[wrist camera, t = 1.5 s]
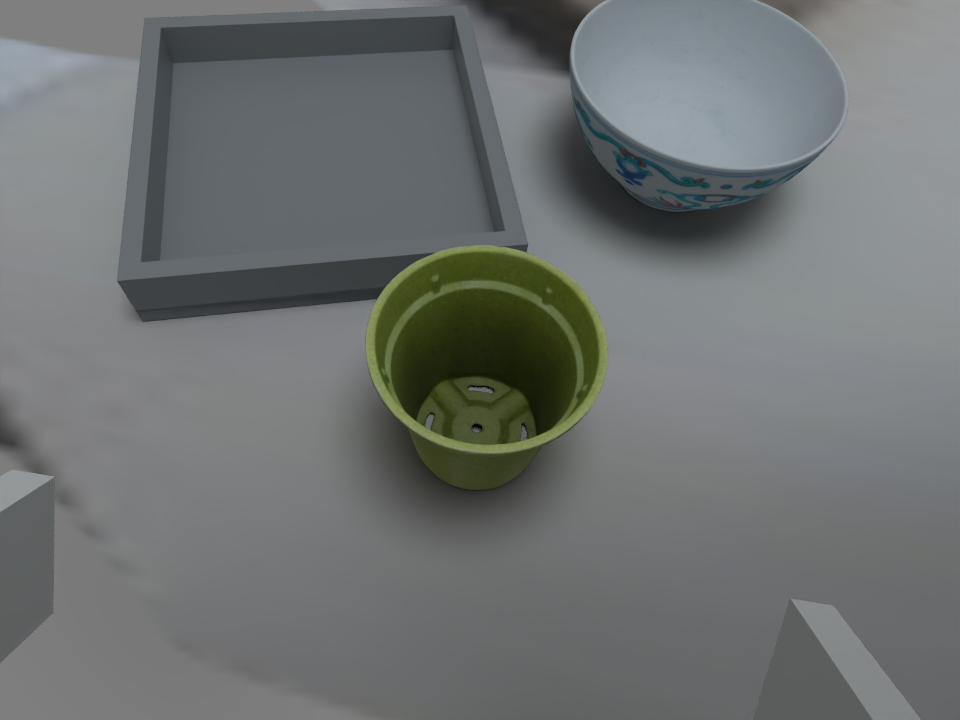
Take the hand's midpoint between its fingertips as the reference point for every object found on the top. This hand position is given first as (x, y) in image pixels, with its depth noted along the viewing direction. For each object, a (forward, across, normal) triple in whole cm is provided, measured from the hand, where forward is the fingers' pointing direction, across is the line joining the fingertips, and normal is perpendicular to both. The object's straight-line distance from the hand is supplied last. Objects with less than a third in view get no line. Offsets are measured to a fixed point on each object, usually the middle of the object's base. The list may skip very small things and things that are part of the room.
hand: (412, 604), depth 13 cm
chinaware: (+36, +10, +10) cm, 38 cm away
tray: (+33, -10, +7) cm, 35 cm away
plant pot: (+22, +1, -5) cm, 22 cm away
